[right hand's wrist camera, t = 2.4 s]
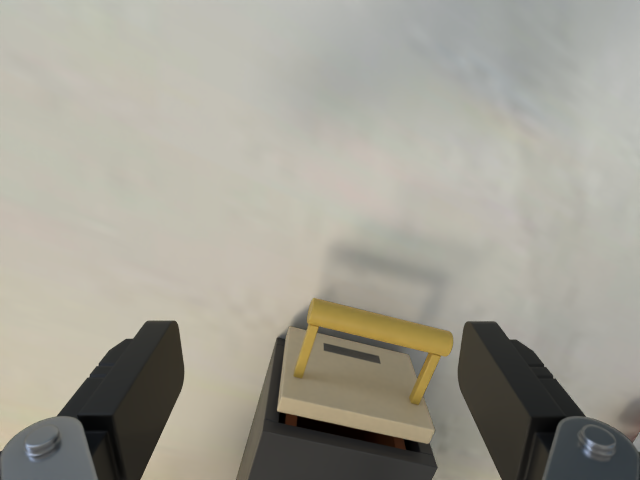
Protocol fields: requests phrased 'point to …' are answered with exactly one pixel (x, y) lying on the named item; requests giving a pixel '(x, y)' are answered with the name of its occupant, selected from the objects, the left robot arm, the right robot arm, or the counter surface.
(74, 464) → the right robot arm
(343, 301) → the counter surface
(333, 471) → the cabinet
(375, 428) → the drawer
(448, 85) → the counter surface
